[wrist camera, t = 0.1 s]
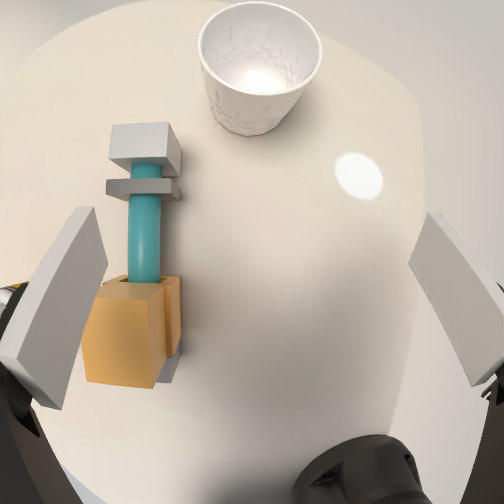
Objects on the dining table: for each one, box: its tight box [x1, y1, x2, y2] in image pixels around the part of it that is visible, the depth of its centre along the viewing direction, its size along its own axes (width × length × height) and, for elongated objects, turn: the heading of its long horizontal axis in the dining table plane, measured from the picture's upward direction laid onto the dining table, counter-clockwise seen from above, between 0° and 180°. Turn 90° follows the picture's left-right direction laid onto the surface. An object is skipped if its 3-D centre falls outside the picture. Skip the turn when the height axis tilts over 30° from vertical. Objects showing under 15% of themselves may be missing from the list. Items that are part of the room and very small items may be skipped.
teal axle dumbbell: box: [106, 122, 182, 383], centre depth 23 cm, size 18×5×7 cm, turn 179°
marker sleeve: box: [81, 275, 181, 389], centre depth 20 cm, size 5×5×10 cm
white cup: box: [197, 1, 323, 136], centre depth 22 cm, size 8×8×10 cm
